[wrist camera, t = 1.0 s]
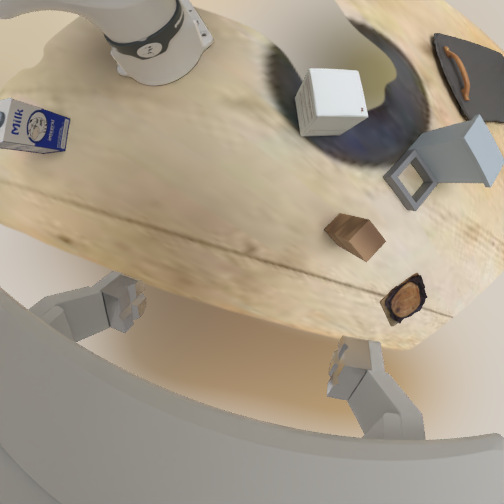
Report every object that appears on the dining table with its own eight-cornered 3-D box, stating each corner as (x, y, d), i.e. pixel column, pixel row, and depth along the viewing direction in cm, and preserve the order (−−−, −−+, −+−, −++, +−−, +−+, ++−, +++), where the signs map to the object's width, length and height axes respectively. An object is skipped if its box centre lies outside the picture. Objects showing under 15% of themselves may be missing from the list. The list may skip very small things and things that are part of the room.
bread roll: (390, 327, 51) (397, 335, 47) (376, 297, 49) (385, 304, 45) (427, 298, 50) (436, 305, 46) (416, 267, 48) (426, 272, 44)
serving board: (500, 57, 36) (512, 52, 30) (525, 126, 40) (538, 125, 34) (419, 34, 37) (432, 23, 31) (454, 123, 42) (471, 118, 36)
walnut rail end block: (338, 245, 46) (366, 262, 35) (324, 229, 46) (348, 241, 34) (354, 229, 46) (386, 241, 34) (339, 213, 45) (369, 219, 33)
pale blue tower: (408, 211, 45) (469, 221, 28) (381, 175, 44) (440, 169, 27) (445, 165, 43) (504, 161, 26) (421, 130, 42) (479, 114, 25)
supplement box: (334, 97, 41) (360, 69, 29) (340, 136, 42) (370, 118, 30) (293, 97, 41) (308, 66, 29) (298, 137, 42) (317, 116, 30)
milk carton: (48, 122, 40) (-17, 104, 20) (70, 117, 40) (3, 94, 21) (43, 154, 41) (-26, 147, 22) (65, 151, 42) (-6, 140, 22)
